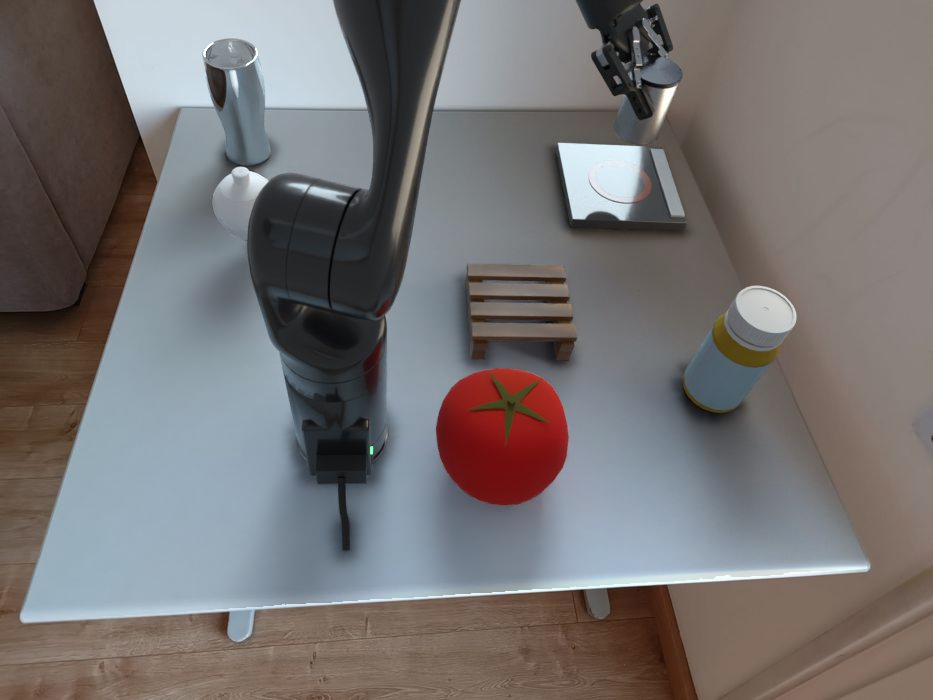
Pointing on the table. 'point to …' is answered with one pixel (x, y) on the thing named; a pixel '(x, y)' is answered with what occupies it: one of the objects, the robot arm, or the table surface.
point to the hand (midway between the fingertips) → (659, 104)
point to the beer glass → (238, 98)
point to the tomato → (502, 435)
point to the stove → (619, 187)
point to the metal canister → (661, 88)
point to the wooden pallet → (519, 307)
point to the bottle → (739, 349)
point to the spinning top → (237, 199)
